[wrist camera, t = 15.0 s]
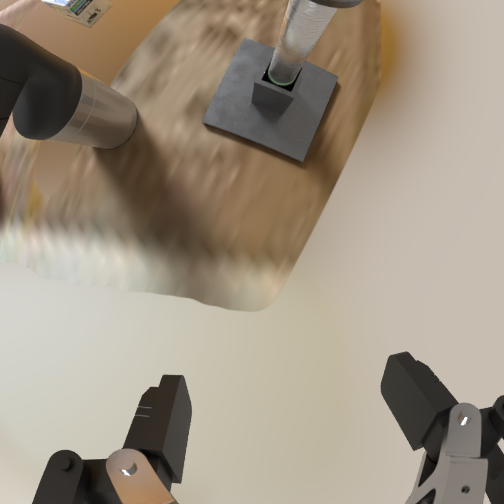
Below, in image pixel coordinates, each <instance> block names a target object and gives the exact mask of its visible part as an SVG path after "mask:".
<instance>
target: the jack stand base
mask: <svg viewBox="0 0 504 504" xmlns="http://www.w3.org/2000/svg"><path fill="white" fill-rule="evenodd" d="M274 50H275V48H273V47H270V46H267V45H264V44H261V43H258V42H255V41H252V40H249V39H246V38H244V40H243V42H242V43H241V45H240V47H239V49H238V50H237V52H236V54H235V56H234V58H233V60H232V61H231V63H230V65H229V67H228V69H227V71H226V73H225V75H224V77H223V79H222V81H221V83H220V85H219V87H218V89H217V91H216V93H215V95H214V97H213V99H212V101H211V103H210V105H209V108H208V110H207V112H206V114H205V116H204V118H203V121H202V122H203V124H206V125H209V126H212V127H214V128H217V129H220V130H223V131H226V132H228V133H231V134H234V135H236V136H239V137H241V138H244V139H247V140H249V141H252V142H254V143H257V144H259V145H262V146H264V147H266V148H269V149H271V150H273V151H276V152H278V153H280V154H283V155H285V156H287V157H290V158H292V159H294V160H296V161H298V162H303V161H304V158H305V156H306V154H307V151H308V149H309V147H310V144H311V142H312V140H313V137H314V135H315V132H316V130H317V128H318V125H319V123H320V120H321V118H322V116H323V113H324V111H325V108H326V106H327V104H328V101H329V99H330V96H331V94H332V92H333V89H334V87H335V84H336V82H337V79H338V76H336V75H334V74H332V73H330V72H328V71H326V70H324V69H322V68H320V67H318V66H316V65H314V64H311V63H309V62H307V61H305V62H304V64H303V65H302V67H301V69H300V71H299V72H298V74H297V76H296V78H295V80H294V82H293V83H292V85H291V86H290V88H289V89H288V91H287V90H285V89H283V88H280V87H278V86H275V85H273V84H270V83H268V82H266V79H267V74H268V70H269V67H270V65H271V61H272V57H273V54H274Z"/></svg>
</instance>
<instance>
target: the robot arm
mask: <svg viewBox="0 0 504 504" xmlns="http://www.w3.org/2000/svg"><path fill="white" fill-rule="evenodd" d="M12 110H13V122H14V125H15V128H16V129H17V131H18V132H19V134H21V135H22V136H24V137H25V138H28V139H35V140H46V141H55V142H64V143H72V144H78V145H85V146H92V147H97V148H104V149H112V148H116V147H118V146H120V145H122V144H123V143H124V142H125V141H126V140H128V139H129V137H130V136H131V134H132V133H133V131H134V129H135V126H136V123H137V111H136V108H135V106H134V104H133V103H132V102H131V101H130V100H129V99H128V98H126V97H125V96H123V95H121V94H120V93H119V92H117V91H115V90H114V89H112V88H111V87H109V86H107V85H106V84H104V83H102V82H101V81H99V80H98V79H96V78H94V77H93V76H91V75H89V74H88V73H86V72H84V71H82V70H81V69H79V68H77V67H76V66H74V65H72V64H70V63H68V62H66V61H65V60H62V59H61V58H59V57H57V56H56V55H54V54H52V53H50V52H49V51H47V50H46V49H44V48H42V47H41V46H39V45H38V44H36V43H35V42H34V41H32V40H31V39H29V38H27V37H26V36H25V35H23V34H21V33H20V32H18V31H16V30H14V29H12V28H10V27H8V26H6V25H3V24H0V137H1V135H2V133H3V131H4V129H5V126H6V124H7V122H8V119H9V116H10V115H11V112H12ZM381 393H382V396H383V398H384V400H385V401H386V403H387V405H388V406H389V408H390V410H391V412H392V413H393V415H394V417H395V418H396V420H397V422H398V424H399V426H400V427H401V429H402V431H403V433H404V435H405V436H406V438H407V440H408V442H409V444H410V445H411V447H412V449H413V450H414V451H415V450H417V449H420V448H422V447H424V448H425V450H426V451H425V452H424V454H423V457H422V461H421V465H420V468H419V472H418V475H417V479H416V482H415V485H414V488H413V491H412V493H411V495H410V496H409V498H408V499H407V501H406V503H405V504H483V500H484V494H485V492H486V494H487V496H488V498H489V500H490V502H491V504H504V454H503V452H502V451H501V449H500V448H499V446H498V444H497V443H498V442H499V441H500V439H501V438H503V439H504V395H503V396H500V397H499V398H498V399H497V400H496V402H495V403H494V405H493V406H492V407H489V408H484V409H479V410H478V408H476V407H475V406H474V405H472V404H469V403H460V404H459V403H458V402H457V400H456V399H455V398H454V397H453V396H452V394H451V393H450V392H449V391H448V389H447V388H446V387H445V386H444V385H443V384H442V382H441V381H439V379H438V377H437V376H436V375H434V373H433V372H432V371H431V369H430V368H429V367H428V366H427V365H425V364H424V363H422V362H420V361H418V360H417V361H416V360H415V359H414V358H413V357H412V356H411V355H410V353H409V352H402V353H398V354H394V355H390V356H389V358H388V360H387V364H386V368H385V371H384V375H383V378H382V381H381ZM138 406H139V407H138V408H137V410H136V413H135V416H134V418H133V421H132V424H131V427H130V429H129V432H128V435H127V437H126V440H125V443H124V446H123V448H122V449H120V450H117V451H115V452H114V453H112V454H111V455H110V456H109V458H107V459H92V460H82V459H81V457H80V456H79V455H78V454H76V453H75V452H73V451H70V450H61V451H58V452H56V453H54V454H53V455H52V456H51V457H50V459H49V461H48V464H47V466H46V468H45V471H44V474H43V476H42V478H41V481H40V483H39V486H38V489H37V492H36V494H35V497H34V500H33V503H32V504H178V502H177V501H176V500H175V499H174V497H173V496H172V494H171V493H170V490H171V484H172V483H180V484H181V481H182V474H183V467H184V460H185V454H186V447H187V441H188V434H189V428H190V423H191V416H192V406H191V401H190V397H189V394H188V390H187V386H186V382H185V378H184V376H183V375H163V376H162V379H161V382H160V385H159V387H150V388H149V389H148V390H147V391H146V392H145V393H144V394H143V395H142V397H141V400H140V402H139V405H138Z"/></svg>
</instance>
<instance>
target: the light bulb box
mask: <svg viewBox="0 0 504 504" xmlns="http://www.w3.org/2000/svg"><path fill="white" fill-rule="evenodd" d="M41 1H43V2H44V3H46V4H47V5H49V6H50V7H51V8H53V9H54V10H56V11H57V12H58V13H60V14H61V15H62V16H63V17H65V18H66V19H69V20H72V21H74V22H77V23H80V24H82V25H85V26H87V27H90V28H91V27H92V26H93V25H94V24H95V23H96V21H97V20H98V19H99V18H100V17H101V16H102V15H103V14H104V13H105V12H106V11H107V10H108V9H109V8H110V7H111V6H112V5H113V4H112V3H111V2H110V1H109V0H41Z"/></svg>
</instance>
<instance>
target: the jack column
mask: <svg viewBox="0 0 504 504" xmlns="http://www.w3.org/2000/svg"><path fill="white" fill-rule="evenodd" d="M362 1H363V0H289V4H288V7H287V10H286V13H285V17H284V20H283V23H282V27H281V30H280V33H279V37H278V40H277V44H276V47H275V50H274V54H273V57H272V61H271V65H270V67H269V70H268V74H267V79H266V82H268V83H270V84H273V85H275V86H278V87H280V88H283V89H285V90H287V91H288V89H289V88H290V86H291V85H292V83H293V82H294V80H295V78H296V76H297V74H298V72H299V71H300V69H301V67H302V65H303V64H304V62H305V60H306V59H307V57H308V55H309V54H310V52H311V50H312V49H313V47H314V45H315V44H316V42H317V41H318V39H319V37H320V36H321V34H322V32H323V31H324V29H325V28H326V26H327V24H328V23H329V21H330V20H331V18H332V17H333V15H334V13H335V12H336V10H337V9H338V8H351V7H355V6H357V5H359V4H360V3H361V2H362Z"/></svg>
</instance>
